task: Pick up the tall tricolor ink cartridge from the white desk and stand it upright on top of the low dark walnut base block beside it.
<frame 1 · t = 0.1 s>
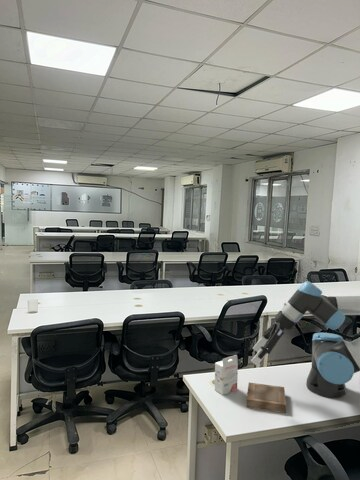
hand: (254, 356, 139), 15 cm above the table, tool tilted 35°, fingers open, 13 cm apart
walnut base: (265, 400, 135), on the table
ink cartridge box: (225, 390, 143), on the table
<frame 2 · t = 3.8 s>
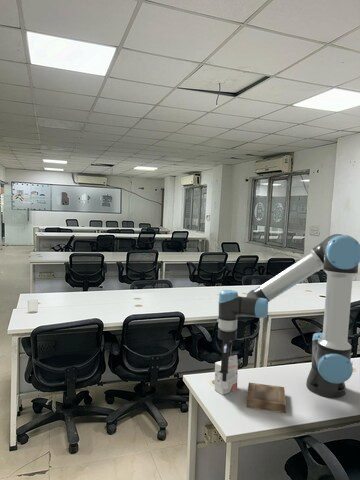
hand: (225, 382, 143), 3 cm above the table, tool pointing down, fingers closed on ink cartridge box, 9 cm apart
ink cartridge box: (225, 390, 143), on the table, touching gripper
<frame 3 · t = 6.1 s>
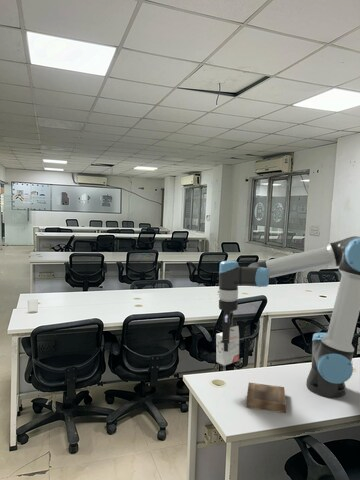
hand: (227, 354, 142), 15 cm above the table, tool pointing down, fingers closed on ink cartridge box, 9 cm apart
ink cartridge box: (227, 361, 142), point 12 cm above the table, touching gripper
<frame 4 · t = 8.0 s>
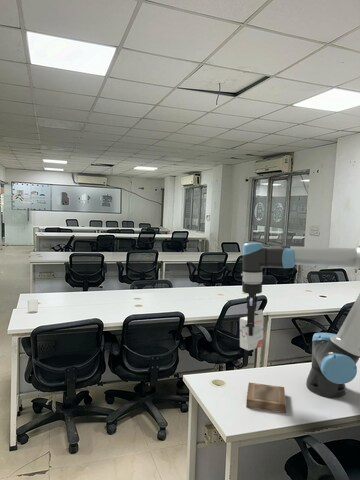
hand: (251, 339, 137), 23 cm above the table, tool pointing down, fingers closed on ink cartridge box, 9 cm apart
ink cartridge box: (251, 347, 137), point 20 cm above the table, touching gripper
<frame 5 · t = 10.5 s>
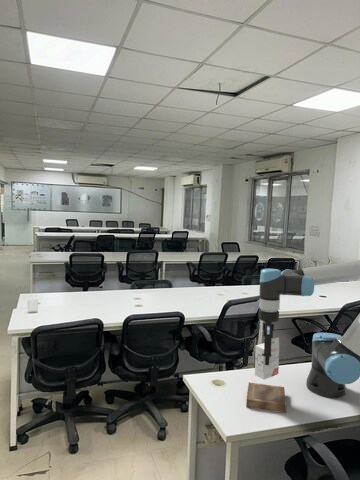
hand: (266, 367, 134), 13 cm above the table, tool pointing down, fingers closed on ink cartridge box, 9 cm apart
ink cartridge box: (266, 375, 135), point 10 cm above the table, touching gripper
when the fingers open (7 cm above the table, at t = 12.5 s): ink cartridge box drops 1 cm, resting on walnut base.
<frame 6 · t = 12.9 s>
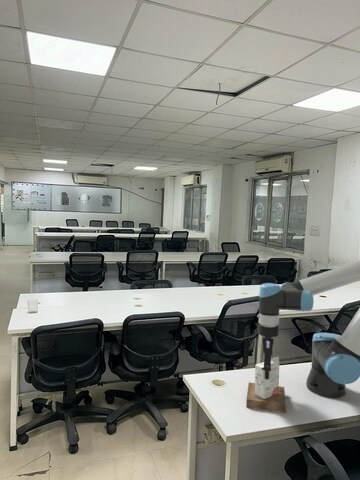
hand: (266, 378, 135), 9 cm above the table, tool pointing down, fingers open, 13 cm apart
ink cartridge box: (266, 394, 134), point 3 cm above the table, touching walnut base
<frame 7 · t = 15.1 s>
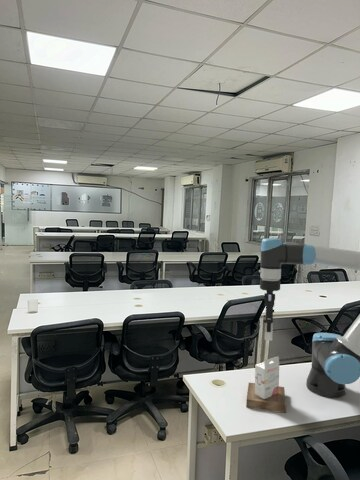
hand: (268, 334, 134), 26 cm above the table, tool pointing down, fingers open, 13 cm apart
nothing on the table moved.
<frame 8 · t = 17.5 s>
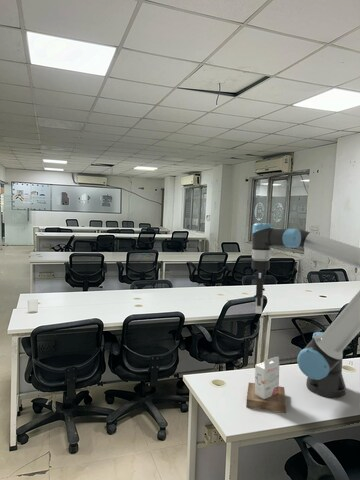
hand: (259, 309, 149), 32 cm above the table, tool pointing down, fingers open, 13 cm apart
nothing on the table moved.
at the end: ink cartridge box inside the target area on the walnut base (0.9 cm from its centre), point 2.9 cm above the walnut base's base; ink cartridge box tilted 0°; ink cartridge box touching walnut base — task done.
